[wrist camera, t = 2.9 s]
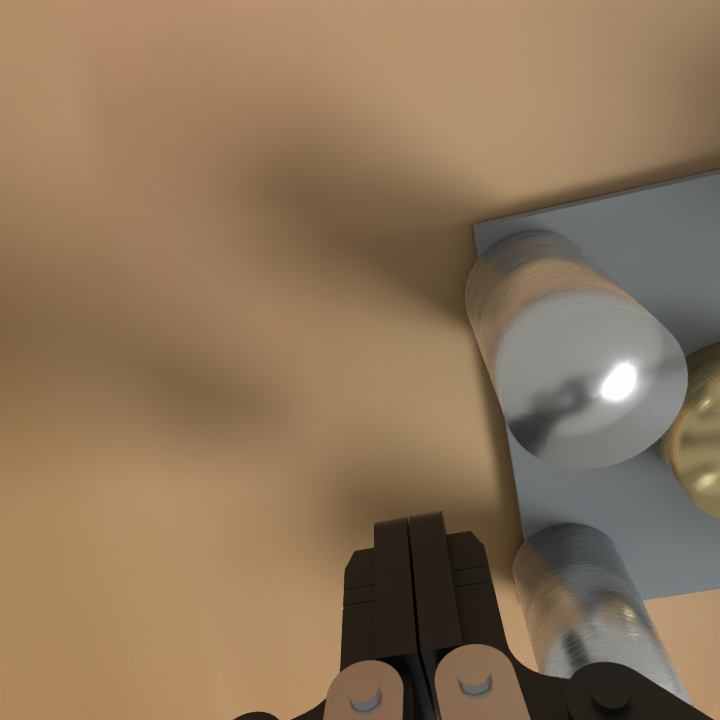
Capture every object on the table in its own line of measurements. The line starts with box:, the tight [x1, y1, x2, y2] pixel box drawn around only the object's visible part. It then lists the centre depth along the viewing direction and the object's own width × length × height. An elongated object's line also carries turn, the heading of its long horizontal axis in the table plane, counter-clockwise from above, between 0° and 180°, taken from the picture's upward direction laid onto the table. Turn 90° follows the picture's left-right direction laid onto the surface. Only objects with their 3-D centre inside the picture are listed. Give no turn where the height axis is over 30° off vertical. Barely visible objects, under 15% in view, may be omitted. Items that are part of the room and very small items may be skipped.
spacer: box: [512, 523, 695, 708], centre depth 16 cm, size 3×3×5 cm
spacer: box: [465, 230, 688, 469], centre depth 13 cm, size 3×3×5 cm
